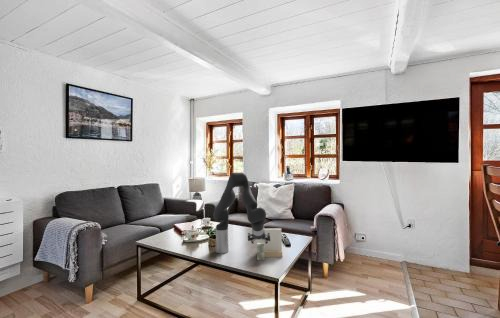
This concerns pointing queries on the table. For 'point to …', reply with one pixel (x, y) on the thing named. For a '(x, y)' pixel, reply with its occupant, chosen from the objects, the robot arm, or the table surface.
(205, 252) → the table surface
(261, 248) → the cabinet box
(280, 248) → the wall board
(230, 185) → the robot arm
